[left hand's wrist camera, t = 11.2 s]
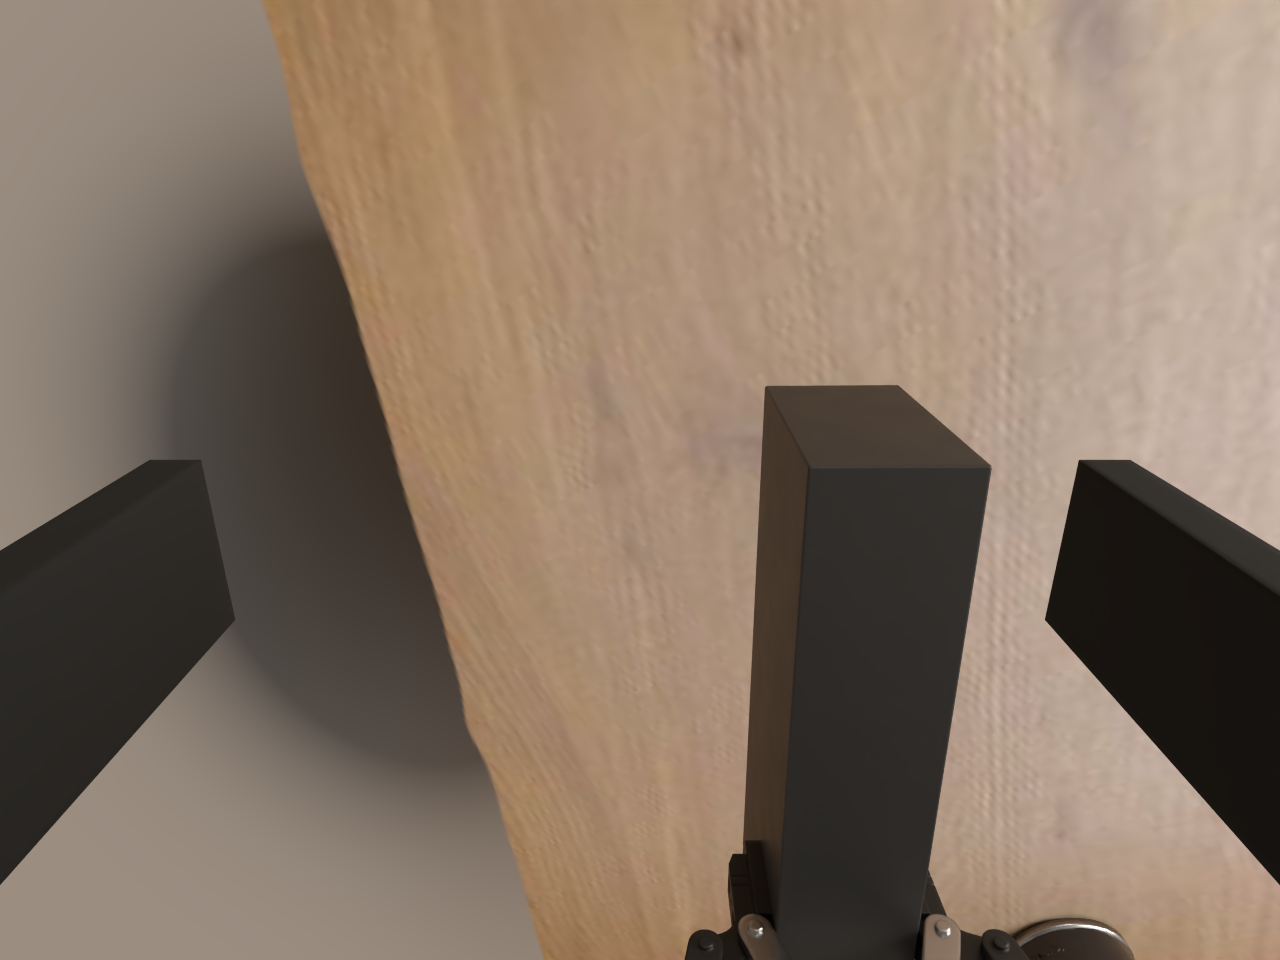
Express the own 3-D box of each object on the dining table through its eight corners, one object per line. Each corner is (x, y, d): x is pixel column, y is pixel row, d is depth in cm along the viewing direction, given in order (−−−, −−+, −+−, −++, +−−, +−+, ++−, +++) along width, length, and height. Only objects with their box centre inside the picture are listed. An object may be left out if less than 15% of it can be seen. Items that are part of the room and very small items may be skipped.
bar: (764, 385, 30) (808, 466, 22) (898, 384, 30) (993, 465, 22) (742, 844, 38) (768, 1029, 30) (848, 844, 38) (903, 1030, 30)
